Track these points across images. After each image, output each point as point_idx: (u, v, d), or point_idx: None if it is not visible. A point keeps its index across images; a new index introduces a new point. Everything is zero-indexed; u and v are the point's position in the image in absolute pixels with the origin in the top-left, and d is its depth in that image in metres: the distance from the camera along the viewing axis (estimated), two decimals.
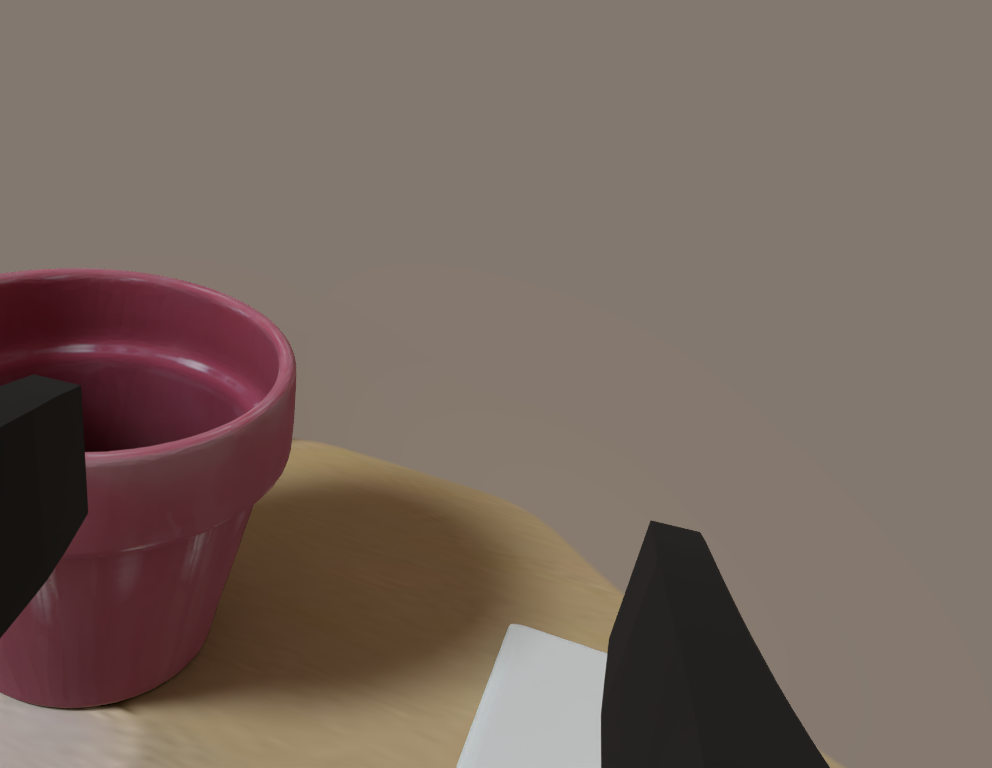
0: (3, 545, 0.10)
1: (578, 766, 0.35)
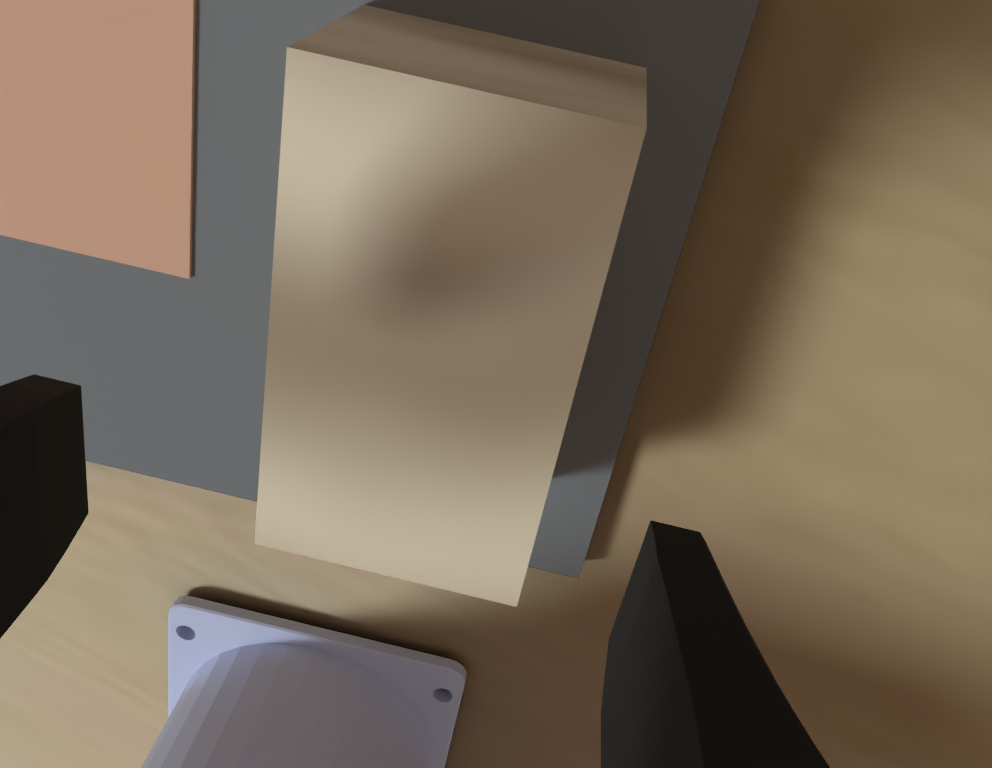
0: (3, 545, 0.10)
1: None
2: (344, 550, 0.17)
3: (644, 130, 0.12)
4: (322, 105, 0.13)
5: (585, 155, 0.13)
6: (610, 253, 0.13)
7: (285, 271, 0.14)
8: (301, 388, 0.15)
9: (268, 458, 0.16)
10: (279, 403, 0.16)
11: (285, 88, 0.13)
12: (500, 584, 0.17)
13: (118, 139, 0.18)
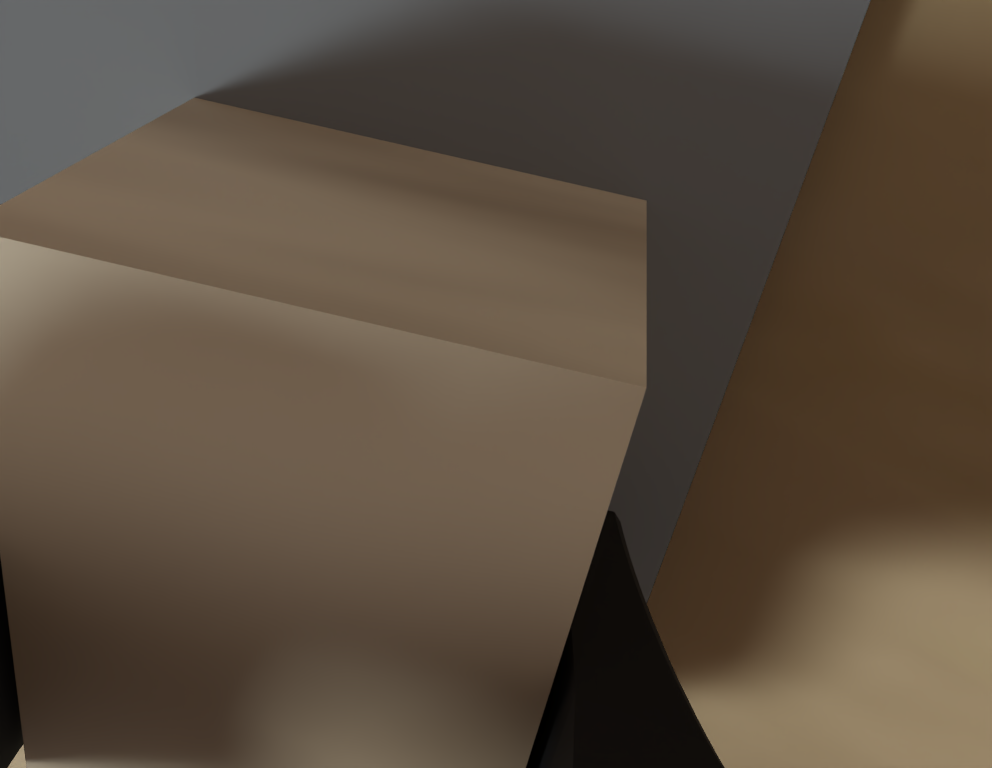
0: None
1: None
2: None
3: (642, 391, 0.06)
4: (41, 328, 0.07)
5: (530, 427, 0.07)
6: (580, 582, 0.07)
7: (24, 577, 0.08)
8: (80, 734, 0.09)
9: None
10: (49, 751, 0.10)
11: None
12: None
13: None
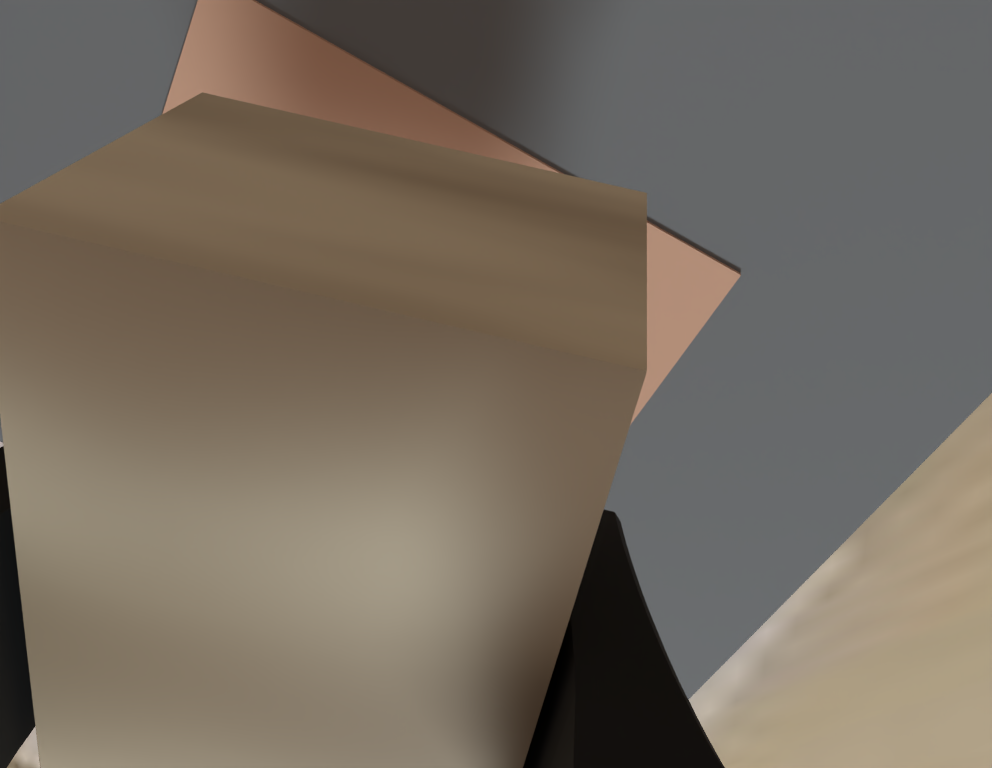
0: None
1: None
2: None
3: (642, 375, 0.07)
4: (56, 314, 0.07)
5: (534, 410, 0.07)
6: (583, 563, 0.08)
7: (37, 560, 0.08)
8: (91, 717, 0.10)
9: None
10: (60, 734, 0.10)
11: None
12: None
13: None
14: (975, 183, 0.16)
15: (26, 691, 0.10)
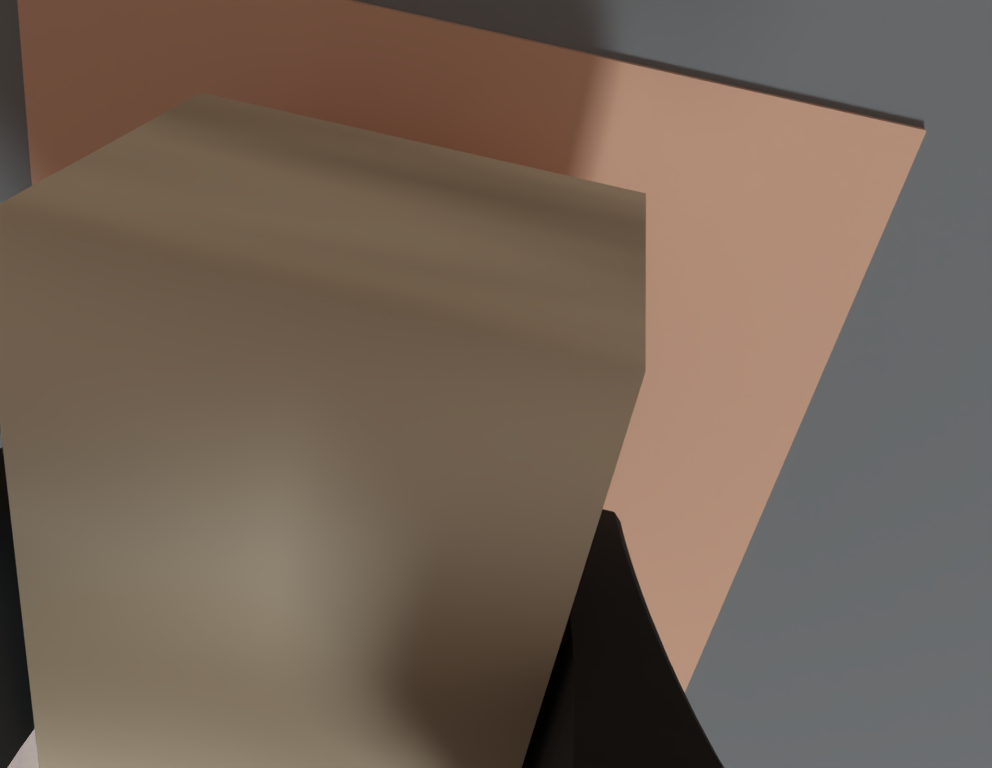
0: None
1: None
2: None
3: (641, 375, 0.07)
4: (55, 315, 0.07)
5: (532, 412, 0.07)
6: (581, 563, 0.08)
7: (36, 561, 0.08)
8: (90, 717, 0.10)
9: None
10: (59, 734, 0.10)
11: None
12: None
13: (668, 197, 0.12)
14: None
15: (27, 691, 0.10)
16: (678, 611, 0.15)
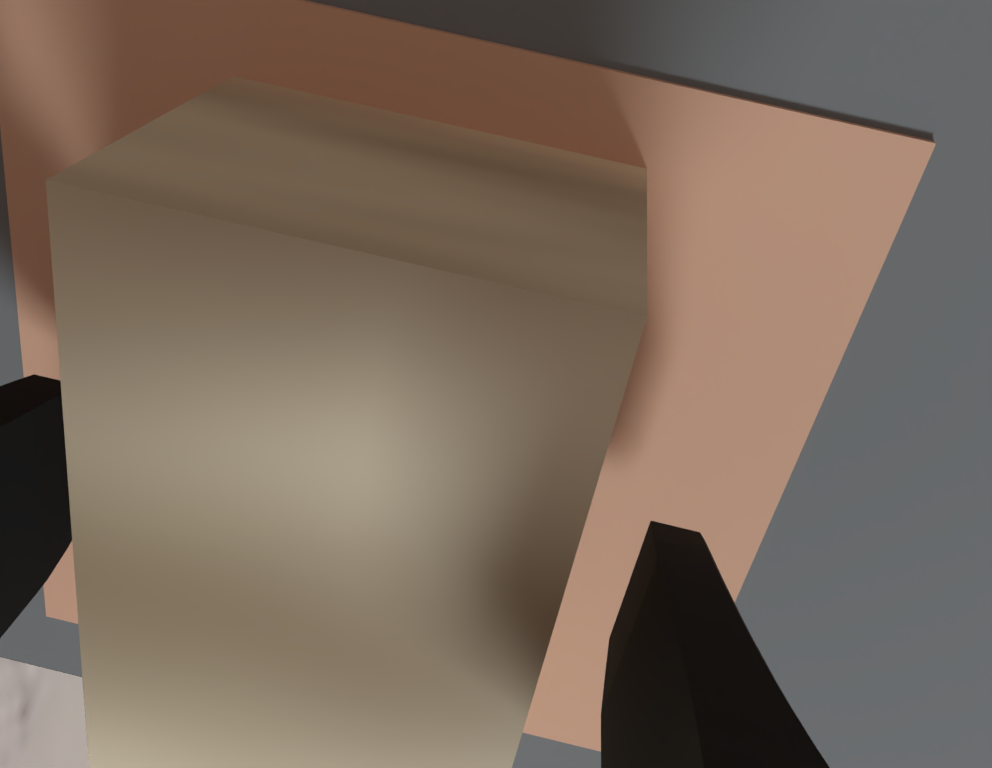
0: (3, 545, 0.10)
1: None
2: None
3: (643, 320, 0.07)
4: (114, 270, 0.08)
5: (545, 355, 0.08)
6: (589, 497, 0.08)
7: (88, 502, 0.09)
8: (134, 653, 0.10)
9: (98, 735, 0.11)
10: (104, 670, 0.11)
11: (52, 243, 0.08)
12: None
13: (667, 211, 0.11)
14: None
15: None
16: None
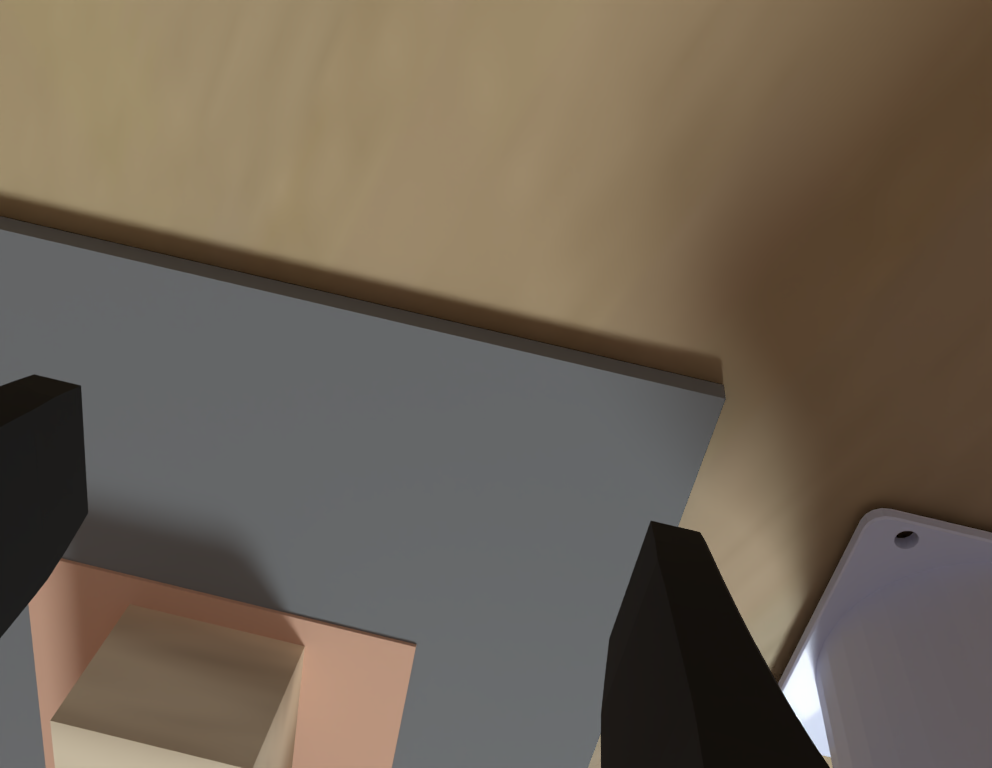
0: (3, 545, 0.10)
1: None
2: None
3: None
4: (74, 744, 0.23)
5: None
6: None
7: None
8: None
9: None
10: None
11: (52, 735, 0.23)
12: None
13: (316, 660, 0.26)
14: (530, 571, 0.23)
15: None
16: None
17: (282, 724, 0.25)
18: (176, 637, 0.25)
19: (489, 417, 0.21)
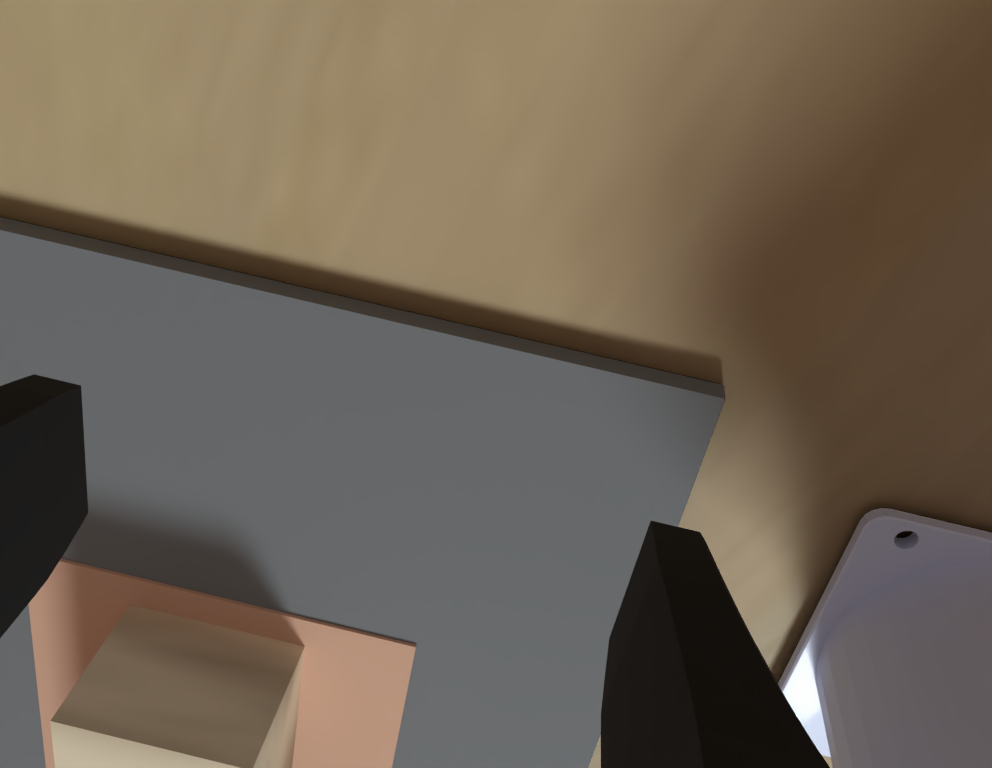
0: (3, 545, 0.10)
1: None
2: None
3: None
4: (74, 744, 0.23)
5: None
6: None
7: None
8: None
9: None
10: None
11: (52, 736, 0.23)
12: None
13: (316, 661, 0.26)
14: (530, 572, 0.23)
15: None
16: None
17: (282, 724, 0.25)
18: (176, 637, 0.25)
19: (489, 417, 0.21)
